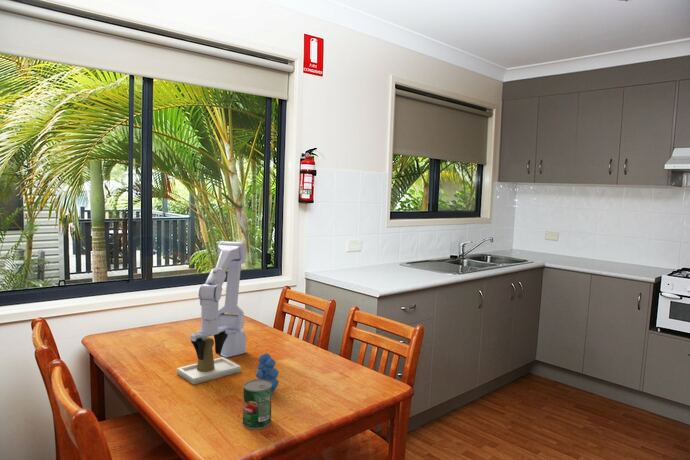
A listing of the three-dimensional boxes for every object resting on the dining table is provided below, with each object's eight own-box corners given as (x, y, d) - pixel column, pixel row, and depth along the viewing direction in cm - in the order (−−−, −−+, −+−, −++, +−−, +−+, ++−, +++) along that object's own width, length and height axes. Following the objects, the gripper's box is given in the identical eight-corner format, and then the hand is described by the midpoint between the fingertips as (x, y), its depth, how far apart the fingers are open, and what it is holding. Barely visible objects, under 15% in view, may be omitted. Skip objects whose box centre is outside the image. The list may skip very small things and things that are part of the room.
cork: (211, 372, 170) (212, 341, 169) (194, 371, 171) (195, 340, 170) (216, 365, 176) (217, 336, 176) (199, 365, 177) (200, 335, 176)
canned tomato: (236, 425, 136) (237, 387, 135) (252, 413, 143) (252, 377, 142) (262, 431, 133) (262, 392, 132) (276, 419, 140) (277, 382, 139)
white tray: (223, 362, 183) (223, 357, 183) (240, 371, 175) (240, 366, 174) (177, 373, 171) (177, 368, 170) (193, 384, 162) (193, 378, 162)
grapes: (247, 386, 162) (248, 351, 161) (266, 382, 166) (266, 348, 165) (263, 400, 152) (264, 362, 151) (282, 395, 156) (283, 358, 155)
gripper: (219, 312, 179) (218, 348, 180) (184, 320, 167) (184, 359, 169) (231, 315, 175) (231, 353, 176) (197, 324, 163) (197, 364, 164)
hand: (209, 356), depth 172 cm, fingers open, 7 cm apart
